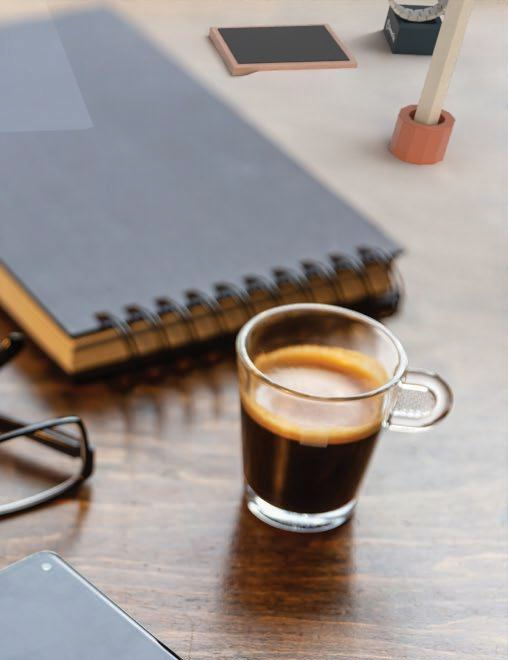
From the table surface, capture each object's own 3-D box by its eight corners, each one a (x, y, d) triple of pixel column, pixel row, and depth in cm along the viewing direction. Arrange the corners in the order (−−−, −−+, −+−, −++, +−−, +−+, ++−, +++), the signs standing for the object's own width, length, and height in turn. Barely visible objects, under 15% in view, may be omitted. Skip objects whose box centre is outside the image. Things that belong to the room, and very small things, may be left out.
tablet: (325, 31, 132) (327, 22, 132) (355, 72, 126) (358, 62, 125) (208, 35, 132) (210, 25, 131) (232, 75, 125) (234, 66, 124)
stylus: (411, 159, 112) (466, -26, 101) (424, 166, 111) (481, -19, 101) (400, 163, 111) (454, -22, 101) (413, 170, 111) (469, -16, 100)
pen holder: (426, 156, 113) (442, 103, 110) (446, 182, 110) (463, 128, 107) (376, 158, 113) (391, 105, 110) (394, 184, 110) (410, 130, 107)
